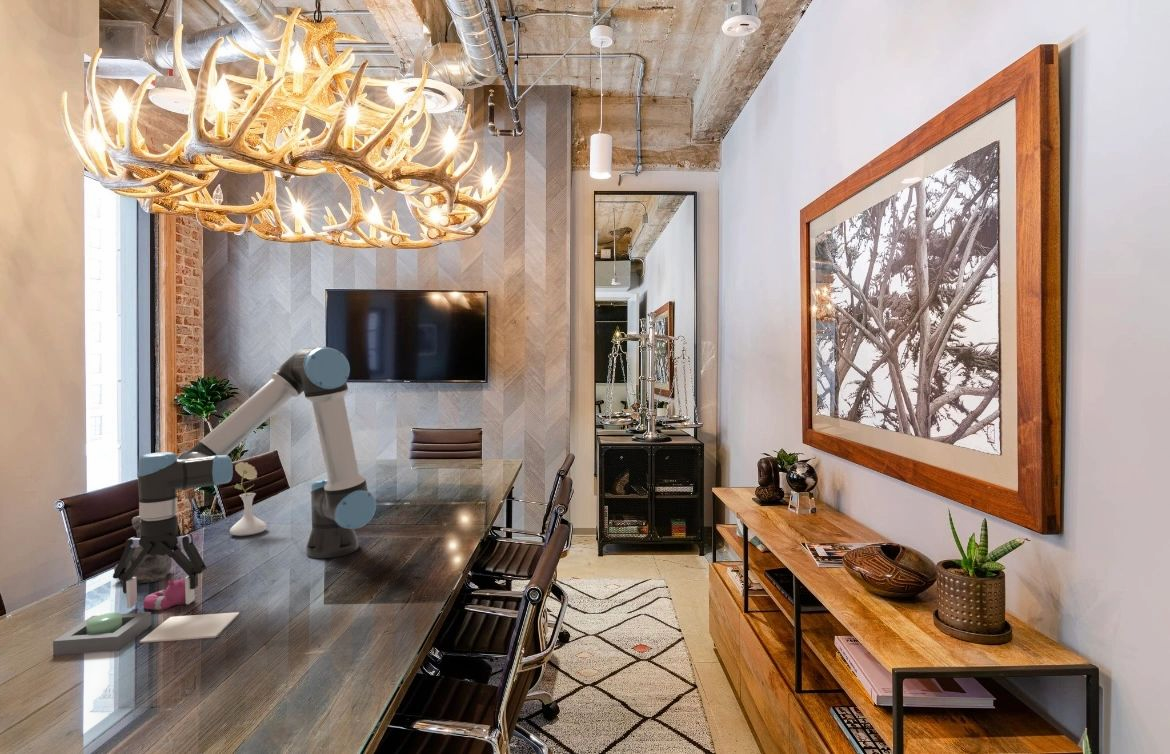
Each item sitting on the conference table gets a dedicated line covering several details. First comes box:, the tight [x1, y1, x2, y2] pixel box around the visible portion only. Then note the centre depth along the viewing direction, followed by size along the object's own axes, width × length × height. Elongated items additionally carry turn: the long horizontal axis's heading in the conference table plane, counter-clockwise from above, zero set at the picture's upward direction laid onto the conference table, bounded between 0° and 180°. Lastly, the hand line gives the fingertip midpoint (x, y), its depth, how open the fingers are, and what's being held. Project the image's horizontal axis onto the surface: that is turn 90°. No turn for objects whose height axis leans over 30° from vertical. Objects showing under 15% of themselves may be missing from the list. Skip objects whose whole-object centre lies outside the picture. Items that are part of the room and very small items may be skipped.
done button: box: [86, 612, 123, 635], centre depth 127 cm, size 6×6×3 cm
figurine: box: [113, 515, 173, 585], centre depth 164 cm, size 13×12×18 cm
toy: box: [143, 577, 196, 611], centre depth 146 cm, size 11×9×10 cm
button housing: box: [52, 611, 152, 656], centre depth 128 cm, size 12×12×3 cm
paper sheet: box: [139, 611, 240, 644], centre depth 133 cm, size 15×12×1 cm
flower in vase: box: [229, 461, 268, 537], centre depth 205 cm, size 13×11×25 cm
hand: (161, 603), depth 144 cm, fingers open, 12 cm apart
